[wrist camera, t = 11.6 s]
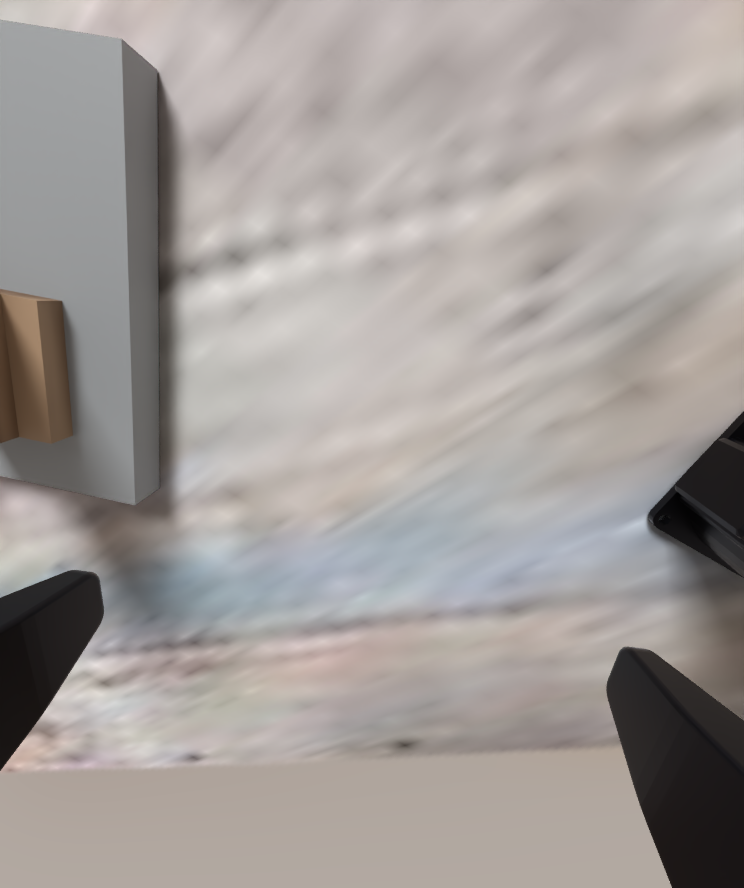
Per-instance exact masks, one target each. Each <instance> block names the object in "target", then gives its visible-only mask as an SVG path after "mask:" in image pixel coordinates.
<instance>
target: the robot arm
mask: <svg viewBox="0 0 744 888" xmlns="http://www.w3.org/2000/svg"><path fill="white" fill-rule="evenodd" d="M662 515H666V516H665V518H664V519H662V520H659V518H660V516H662ZM648 518H649V521H650V522H651V523H652V524H653V525H654V526H656V527H657V528H658V529H660V530H662V531H663V532H665V533H667V534H669V535H670V536H672V537H674V538H676V539H677V540H679V541H681V542H682V543H684V544H686V545H688V546H689V547H691V548H693V549H695V550H696V551H698V552H700V553H702V554H703V555H705V556H707V557H708V558H710V559H712V560H714V561H715V562H717V563H719V564H721V565H722V566H724V567H726V568H727V569H729V570H731V571H733V572H734V573H736V574H738V575H740V576H741V577H743V578H744V412H743V413H742V414H741V415H740V416H739V417H738V418H737V419H736V420H735V421H734V422H733V423H732V424H731V425H730V427H729V428H728V429H727V430H726V431H725V432H724V433H723V434H722V435H721V436H720V437H719V438H718V439H717V440H716V441H715V442H714V443H713V444H712V445H711V446H710V447H709V448H708V449H707V450H706V451H705V453H704V454H703V455H702V456H701V457H700V458H699V459H698V460H697V461H696V462H695V463H694V464H693V465H692V466H691V467H690V469H689V470H688V471H687V472H686V473H685V474H684V475H683V476H682V477H681V478H680V479H679V480H678V481H677V482H676V484H675V485H674V486H673V487H672V488H671V489H670V490H669V491H668V492H667V494H666V495H665V496H664V497H663V498H662V499H661V500H660V501H659V502H658V503H657V504H656V505H655V506H654V507H653V508H652V510H651V511H650V512H649V515H648ZM103 615H104V606H103V599H102V592H101V585H100V580H99V577H98V576H97V574H95V573H93V572H87V571H79V570H70V571H67V572H64V573H62V574H59V575H57V576H54V577H52V578H49V579H47V580H44V581H42V582H39V583H37V584H34V585H31V586H29V587H26V588H24V589H21V590H19V591H16V592H14V593H11V594H9V595H6V596H4V597H1V598H0V771H1V769H2V768H3V767H4V765H5V764H6V763H7V761H8V760H9V759H10V757H11V756H12V755H13V753H14V752H15V751H16V749H17V748H18V747H19V746H20V744H21V743H22V742H23V740H24V739H25V738H26V736H27V735H28V734H29V732H30V731H31V730H32V728H33V727H34V725H35V724H36V723H37V721H38V720H39V719H40V717H41V716H42V714H43V713H44V711H45V710H46V708H47V707H48V706H49V704H50V703H51V701H52V700H53V698H54V696H55V695H56V693H57V692H58V690H59V689H60V687H61V685H62V684H63V682H64V681H65V679H66V678H67V676H68V674H69V673H70V671H71V670H72V668H73V667H74V665H75V663H76V662H77V660H78V659H79V657H80V656H81V654H82V652H83V651H84V649H85V648H86V646H87V644H88V643H89V641H90V640H91V638H92V637H93V635H94V633H95V632H96V630H97V629H98V627H99V625H100V624H101V621H102V619H103ZM606 688H607V697H608V701H609V705H610V708H611V711H612V715H613V718H614V721H615V725H616V728H617V731H618V735H619V738H620V741H621V745H622V748H623V751H624V755H625V758H626V761H627V765H628V768H629V771H630V774H631V778H632V781H633V785H634V788H635V791H636V794H637V797H638V800H639V803H640V806H641V809H642V812H643V814H644V817H645V820H646V822H647V825H648V827H649V830H650V833H651V835H652V837H653V840H654V843H655V845H656V848H657V850H658V853H659V856H660V858H661V860H662V863H663V866H664V868H665V870H666V873H667V876H668V878H669V881H670V884H671V886H672V888H744V721H743V720H742V719H741V718H739V717H738V716H737V715H735V714H734V713H733V712H731V711H730V710H729V709H727V708H726V707H725V706H723V705H722V704H721V703H720V702H718V701H717V700H716V699H714V698H713V697H712V696H710V695H709V694H708V693H706V692H705V691H704V690H702V689H701V688H700V687H699V686H697V685H696V684H695V683H693V682H692V681H691V680H689V679H688V678H687V677H685V676H684V675H683V674H682V673H680V672H679V671H678V670H676V669H675V668H674V667H672V666H671V665H670V664H668V663H667V662H666V661H664V660H663V659H662V658H661V657H659V656H658V655H657V654H655V653H654V652H652V651H650V650H647V649H641V648H634V647H624V648H622V649H621V650H620V651H619V653H618V656H617V658H616V661H615V663H614V666H613V668H612V671H611V673H610V676H609V678H608V681H607V687H606Z"/></svg>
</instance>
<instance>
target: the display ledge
mask: <svg viewBox="0 0 744 888" xmlns="http://www.w3.org/2000/svg"><path fill="white" fill-rule="evenodd" d="M0 289H4V290H9V291H14V292H19V293H25V294H30V295H35V296H40V297H45V298H50V299H56V300H61V301H62V307H63V319H64V331H65V343H66V356H67V368H68V380H69V392H70V404H71V416H72V429H73V436H70V437H68V438H65V439H63V440H60V441H57V442H55V443H52V444H50V443H45V442H40V441H35V440H31V439H26V438H21V437H18V438H15V439H12V440H9V441H6V442H3V443H0V476H2V477H7V478H11V479H16V480H21V481H25V482H30V483H34V484H39V485H43V486H48V487H53V488H57V489H62V490H66V491H71V492H76V493H80V494H85V495H89V496H94V497H98V498H103V499H108V500H112V501H117V502H121V503H126V504H131V505H136V504H138V503H139V502H141V501H142V500H143V499H145V498H146V497H148V496H149V495H150V494H152V493H153V492H155V491H156V490H157V489H159V488H160V461H159V280H158V98H157V69H156V68H154V67H153V66H152V65H151V64H150V63H149V62H147V61H146V60H145V59H144V58H143V57H142V56H141V55H139V54H138V53H137V52H136V51H135V50H134V49H133V48H131V47H130V46H129V45H128V44H127V43H126V42H125V41H123V40H122V39H119V38H113V37H107V36H100V35H94V34H88V33H81V32H75V31H69V30H62V29H56V28H50V27H43V26H37V25H31V24H24V23H18V22H12V21H5V20H0Z"/></svg>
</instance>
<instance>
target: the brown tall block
mask: <svg viewBox="0 0 744 888" xmlns="http://www.w3.org/2000/svg"><path fill="white" fill-rule="evenodd" d="M70 436H73V429H72V416H71V404H70V392H69V380H68V368H67V356H66V343H65V331H64V319H63V307H62V301H61V300H56V299H50V298H45V297H40V296H35V295H30V294H25V293H19V292H14V291H9V290H4V289H0V443H3V442H6V441H9V440H12V439H15V438H18V437H21V438H26V439H31V440H35V441H40V442H45V443H50V444H52V443H55V442H57V441H60V440H63V439H65V438H68V437H70Z"/></svg>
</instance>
